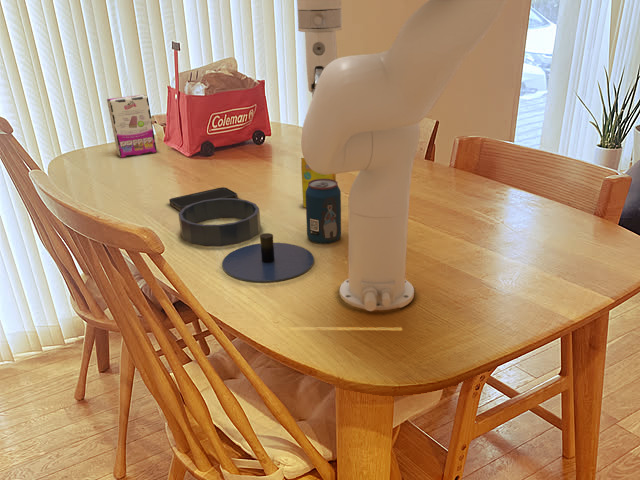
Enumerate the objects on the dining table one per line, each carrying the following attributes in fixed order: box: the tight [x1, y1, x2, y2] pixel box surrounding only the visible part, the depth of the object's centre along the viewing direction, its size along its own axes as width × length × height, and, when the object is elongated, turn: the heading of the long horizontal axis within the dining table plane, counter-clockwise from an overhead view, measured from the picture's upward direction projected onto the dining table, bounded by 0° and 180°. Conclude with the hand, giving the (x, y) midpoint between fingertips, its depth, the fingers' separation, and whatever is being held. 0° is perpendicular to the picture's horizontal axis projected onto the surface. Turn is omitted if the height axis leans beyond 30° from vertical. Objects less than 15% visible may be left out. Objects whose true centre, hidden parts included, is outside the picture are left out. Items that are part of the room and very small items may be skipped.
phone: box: [168, 186, 239, 212], centre depth 151 cm, size 8×1×15 cm
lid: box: [221, 232, 315, 284], centre depth 117 cm, size 17×17×6 cm
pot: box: [177, 198, 262, 247], centre depth 132 cm, size 16×16×5 cm
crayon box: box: [300, 157, 337, 209], centre depth 143 cm, size 7×3×12 cm, turn 70°
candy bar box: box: [106, 94, 158, 159], centre depth 187 cm, size 11×5×16 cm, turn 119°
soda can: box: [305, 179, 342, 245], centre depth 126 cm, size 7×7×12 cm
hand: (322, 123), depth 117 cm, fingers open, 9 cm apart
